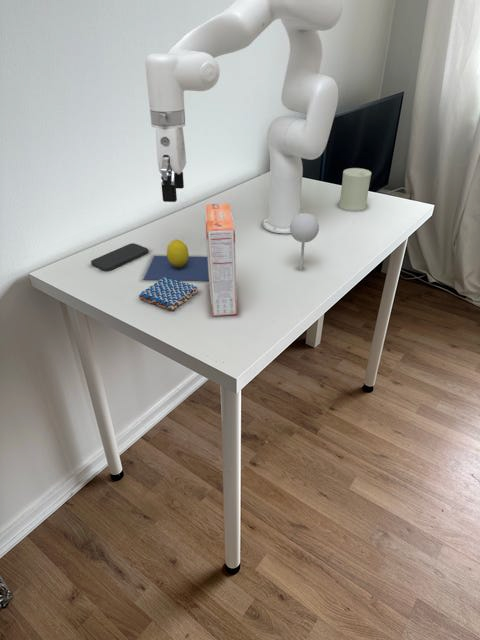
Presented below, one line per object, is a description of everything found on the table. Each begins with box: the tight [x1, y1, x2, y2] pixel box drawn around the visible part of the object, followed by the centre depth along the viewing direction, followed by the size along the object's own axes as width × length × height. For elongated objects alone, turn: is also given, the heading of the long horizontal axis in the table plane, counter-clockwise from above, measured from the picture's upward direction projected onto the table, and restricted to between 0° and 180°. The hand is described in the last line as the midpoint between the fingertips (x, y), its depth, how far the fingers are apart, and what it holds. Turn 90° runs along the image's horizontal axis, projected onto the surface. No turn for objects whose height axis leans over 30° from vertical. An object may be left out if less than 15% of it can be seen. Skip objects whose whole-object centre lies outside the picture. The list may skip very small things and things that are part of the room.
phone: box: [90, 243, 149, 272], centre depth 123 cm, size 7×1×15 cm
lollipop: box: [290, 212, 320, 270], centre depth 113 cm, size 7×7×15 cm
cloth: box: [142, 255, 209, 282], centre depth 118 cm, size 18×13×1 cm
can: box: [338, 167, 372, 212], centre depth 151 cm, size 9×9×12 cm
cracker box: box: [204, 203, 238, 317], centre depth 100 cm, size 14×6×21 cm, turn 5°
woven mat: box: [138, 276, 198, 311], centre depth 107 cm, size 10×11×2 cm
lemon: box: [166, 238, 190, 268], centre depth 116 cm, size 6×6×8 cm
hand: (173, 194), depth 109 cm, fingers open, 9 cm apart
